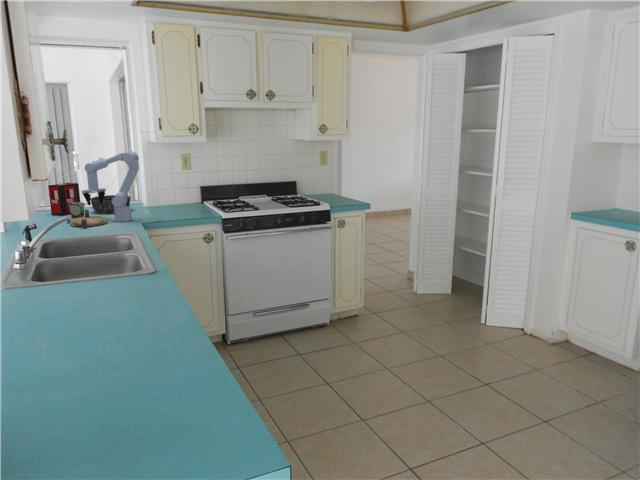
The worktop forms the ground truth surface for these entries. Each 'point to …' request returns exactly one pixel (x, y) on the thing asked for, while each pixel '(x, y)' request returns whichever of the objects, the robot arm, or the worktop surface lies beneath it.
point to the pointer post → (84, 223)
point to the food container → (77, 209)
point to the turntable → (88, 220)
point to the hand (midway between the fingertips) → (95, 204)
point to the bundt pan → (105, 204)
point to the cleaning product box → (63, 197)
